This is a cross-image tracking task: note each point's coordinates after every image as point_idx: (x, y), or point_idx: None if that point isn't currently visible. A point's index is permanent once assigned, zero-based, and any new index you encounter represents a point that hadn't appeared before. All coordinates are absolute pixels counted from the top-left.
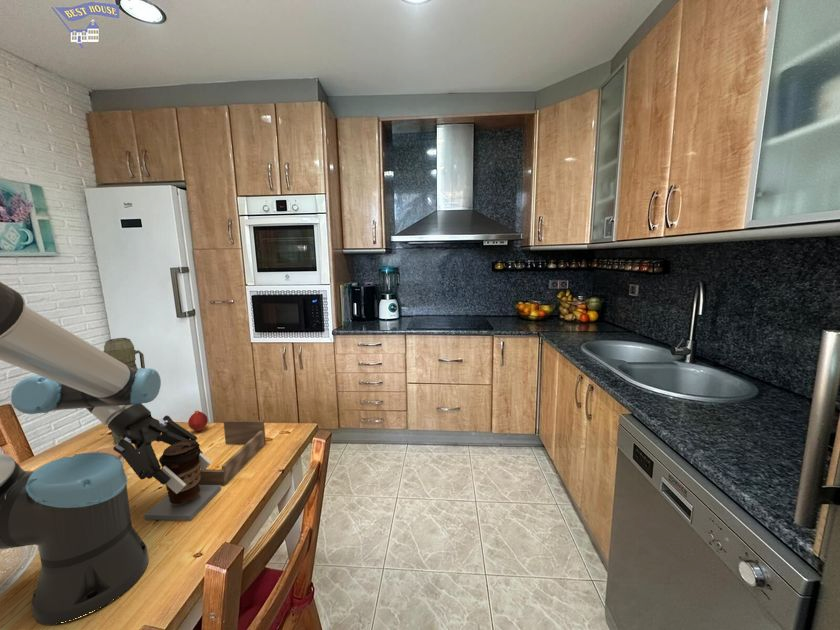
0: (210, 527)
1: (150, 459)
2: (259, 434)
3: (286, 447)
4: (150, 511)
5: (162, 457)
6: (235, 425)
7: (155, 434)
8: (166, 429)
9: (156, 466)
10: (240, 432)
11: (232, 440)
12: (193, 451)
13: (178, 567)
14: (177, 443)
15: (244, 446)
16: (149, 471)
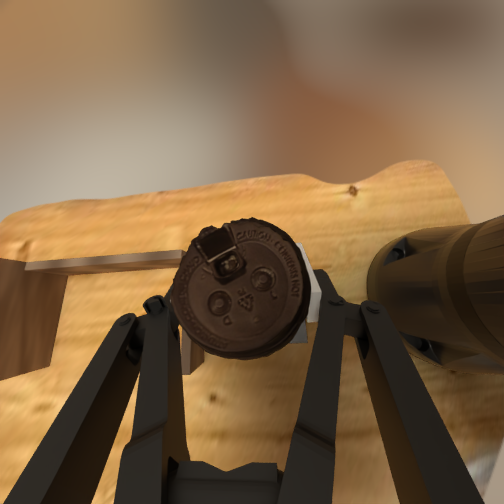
0: (303, 210)
1: (342, 343)
2: (44, 261)
3: (87, 218)
4: (297, 337)
5: (294, 321)
6: None
7: (208, 492)
8: (129, 460)
9: (338, 305)
10: (17, 327)
11: (40, 348)
12: (247, 220)
13: (377, 200)
14: (201, 328)
15: (99, 260)
16: (373, 302)
